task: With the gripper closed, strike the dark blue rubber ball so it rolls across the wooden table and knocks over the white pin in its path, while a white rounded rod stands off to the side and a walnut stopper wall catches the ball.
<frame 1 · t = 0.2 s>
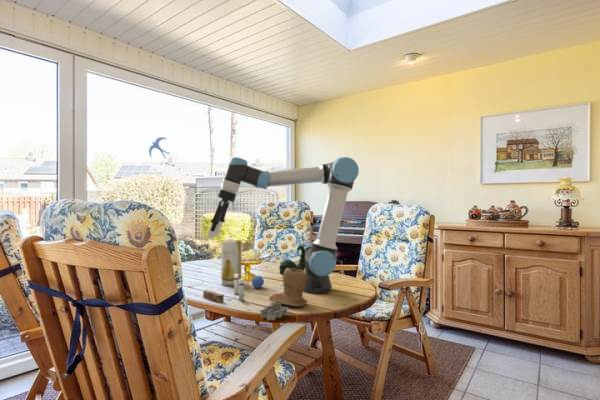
hand: (212, 236, 146), 28 cm above the table, tool tilted 20°, fingers open, 13 cm apart
egg carton: (274, 316, 127), on the table
juice carton: (231, 284, 173), on the table
stopper wall: (213, 299, 146), on the table
white pin: (236, 293, 155), on the table
brown boot: (290, 304, 142), on the table
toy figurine: (293, 278, 187), on the table
ball: (257, 281, 166), on the table
white rounded rod: (241, 300, 145), on the table
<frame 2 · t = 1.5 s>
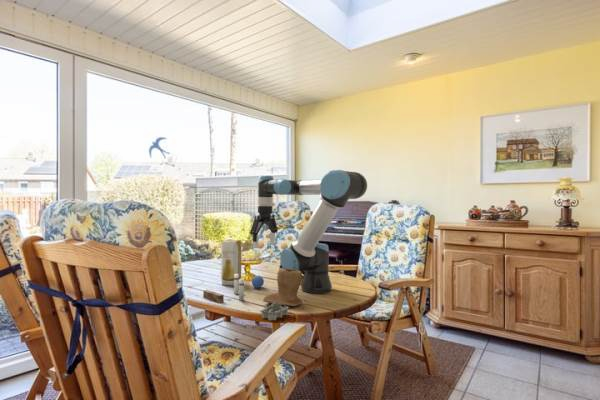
hand: (264, 246, 172), 20 cm above the table, tool pointing down, fingers open, 13 cm apart
brown boot: (284, 304, 141), on the table
everything else where it was.
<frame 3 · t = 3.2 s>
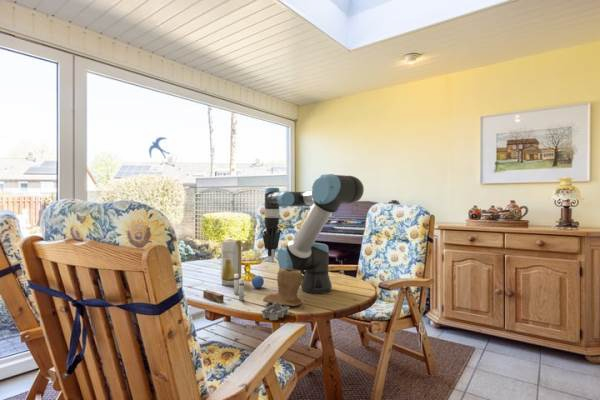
hand: (271, 262, 174), 12 cm above the table, tool pointing down, fingers closed
nothing on the table moved.
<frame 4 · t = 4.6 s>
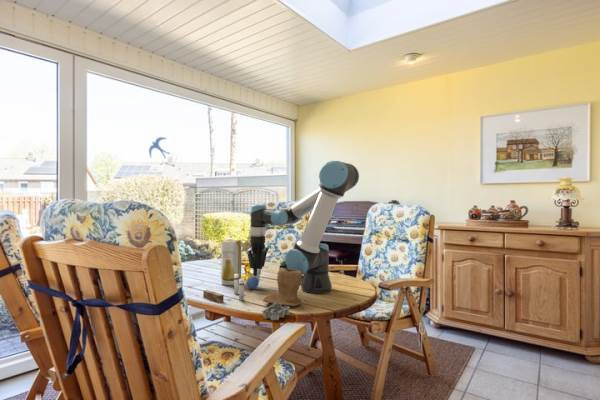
hand: (256, 281, 168), 3 cm above the table, tool pointing down, fingers closed
ball: (252, 282, 164), on the table, touching gripper
everything else where it was.
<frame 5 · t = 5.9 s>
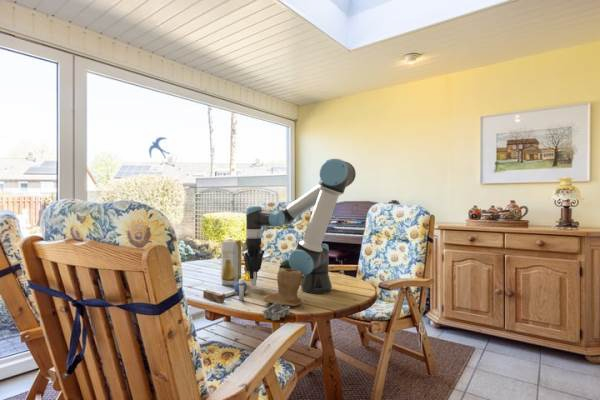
hand: (253, 285, 164), 2 cm above the table, tool pointing down, fingers closed
white pin: (234, 292, 154), point 1 cm above the table, tilted 90°
ball: (240, 287, 156), on the table
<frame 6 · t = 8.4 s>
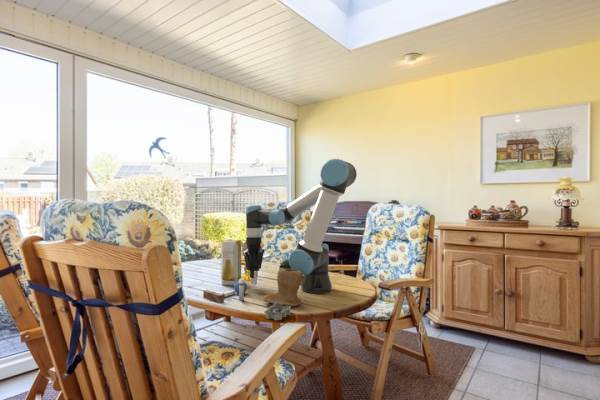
hand: (253, 284, 164), 2 cm above the table, tool pointing down, fingers closed
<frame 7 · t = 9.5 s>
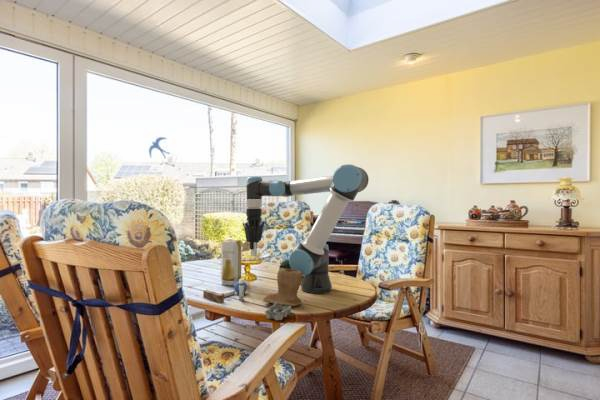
hand: (253, 255, 164), 16 cm above the table, tool pointing down, fingers closed
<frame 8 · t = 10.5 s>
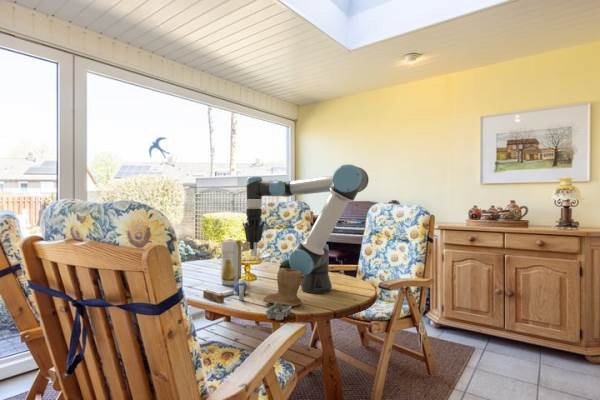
hand: (253, 255, 164), 16 cm above the table, tool pointing down, fingers closed
at the end: white pin tilted 90°; white pin never touched the robot; ball moved 12.5 cm from its start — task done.
